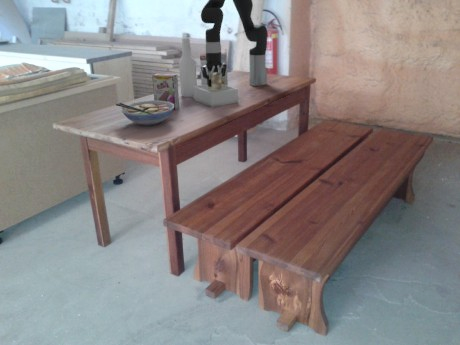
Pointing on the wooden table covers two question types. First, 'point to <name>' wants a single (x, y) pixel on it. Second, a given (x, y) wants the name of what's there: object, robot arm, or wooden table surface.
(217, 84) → the birch block
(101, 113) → the wooden table surface
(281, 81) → the wooden table surface
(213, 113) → the wooden table surface
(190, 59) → the alcohol
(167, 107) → the ramen bowl
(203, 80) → the cracker box
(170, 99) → the candy bar box
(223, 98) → the bin
